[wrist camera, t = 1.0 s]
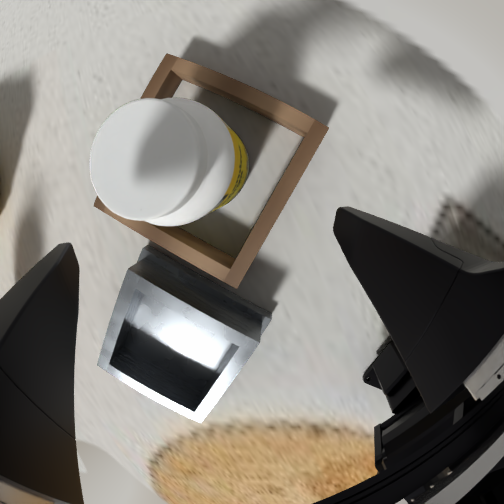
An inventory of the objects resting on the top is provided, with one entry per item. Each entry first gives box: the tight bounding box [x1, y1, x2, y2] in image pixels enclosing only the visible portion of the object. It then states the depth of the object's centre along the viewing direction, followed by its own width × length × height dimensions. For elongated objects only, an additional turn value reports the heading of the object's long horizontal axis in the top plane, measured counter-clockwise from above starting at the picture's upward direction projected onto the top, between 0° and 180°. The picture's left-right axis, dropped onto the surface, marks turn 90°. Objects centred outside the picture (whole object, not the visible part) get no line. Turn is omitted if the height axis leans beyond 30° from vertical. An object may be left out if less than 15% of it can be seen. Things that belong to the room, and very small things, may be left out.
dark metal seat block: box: [97, 245, 272, 423], centre depth 22 cm, size 11×11×4 cm
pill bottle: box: [89, 97, 249, 226], centre depth 15 cm, size 6×6×11 cm
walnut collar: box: [94, 54, 329, 289], centre depth 19 cm, size 12×12×2 cm
